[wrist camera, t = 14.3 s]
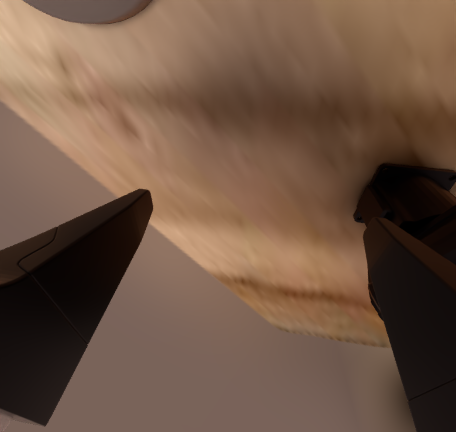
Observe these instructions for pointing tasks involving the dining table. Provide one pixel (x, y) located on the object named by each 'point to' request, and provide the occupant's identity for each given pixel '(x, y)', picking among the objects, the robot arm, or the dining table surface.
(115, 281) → the robot arm
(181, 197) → the dining table surface
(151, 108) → the dining table surface
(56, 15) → the grey-brown round disc
